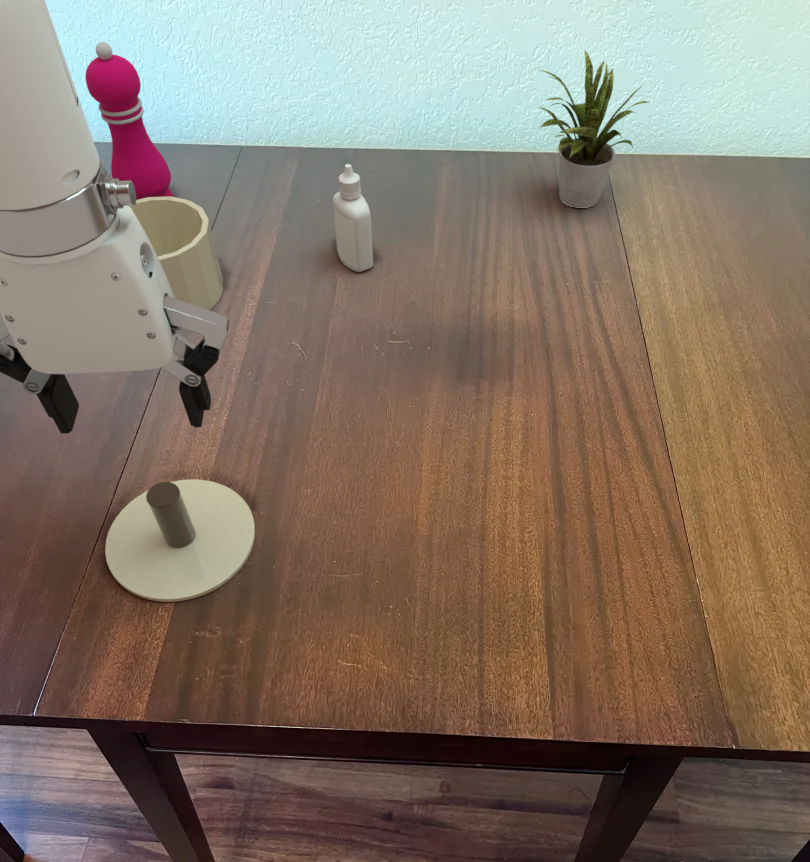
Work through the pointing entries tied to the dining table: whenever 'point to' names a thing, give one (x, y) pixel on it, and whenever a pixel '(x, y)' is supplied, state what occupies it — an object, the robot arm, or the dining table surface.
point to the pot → (183, 248)
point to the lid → (180, 540)
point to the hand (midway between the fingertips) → (135, 417)
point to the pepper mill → (126, 124)
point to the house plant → (587, 140)
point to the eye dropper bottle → (352, 223)
